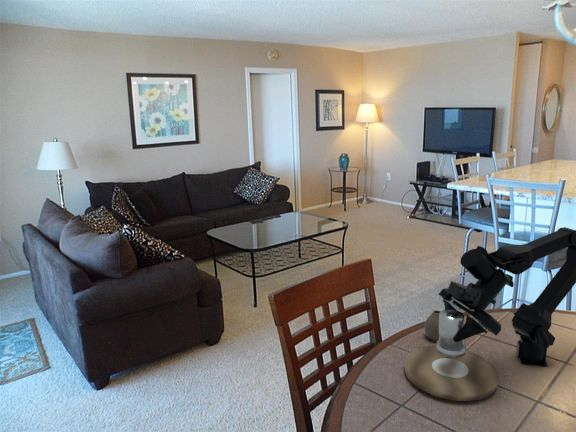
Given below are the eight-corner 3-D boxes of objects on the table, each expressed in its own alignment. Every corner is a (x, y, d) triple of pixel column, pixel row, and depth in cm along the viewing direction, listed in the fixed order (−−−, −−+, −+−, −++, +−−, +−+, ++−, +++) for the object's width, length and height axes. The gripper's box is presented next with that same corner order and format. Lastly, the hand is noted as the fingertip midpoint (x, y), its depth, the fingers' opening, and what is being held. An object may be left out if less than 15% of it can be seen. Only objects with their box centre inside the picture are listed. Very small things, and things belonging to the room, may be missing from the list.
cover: (464, 343, 118) (465, 309, 115) (467, 358, 111) (468, 322, 109) (435, 341, 120) (435, 307, 117) (437, 356, 113) (437, 320, 111)
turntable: (489, 357, 125) (490, 349, 124) (505, 410, 103) (506, 400, 103) (405, 348, 131) (405, 341, 130) (403, 396, 110) (403, 387, 109)
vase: (444, 332, 140) (446, 307, 138) (450, 344, 133) (451, 317, 131) (422, 332, 141) (423, 306, 139) (426, 343, 134) (427, 316, 132)
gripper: (445, 259, 120) (408, 303, 120) (493, 284, 103) (450, 336, 103) (469, 282, 124) (433, 325, 124) (519, 310, 107) (477, 360, 106)
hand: (446, 335), depth 114 cm, fingers closed on cover, 6 cm apart
